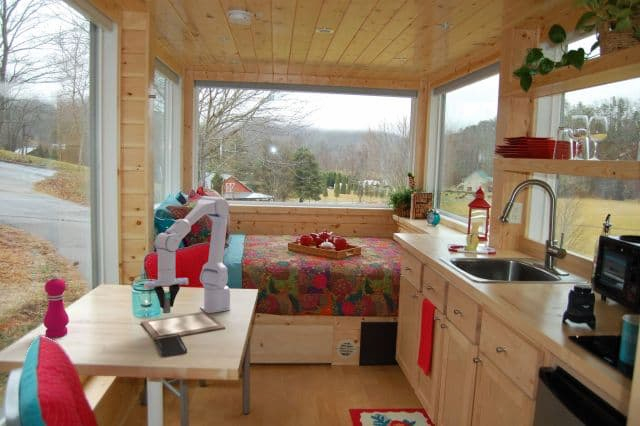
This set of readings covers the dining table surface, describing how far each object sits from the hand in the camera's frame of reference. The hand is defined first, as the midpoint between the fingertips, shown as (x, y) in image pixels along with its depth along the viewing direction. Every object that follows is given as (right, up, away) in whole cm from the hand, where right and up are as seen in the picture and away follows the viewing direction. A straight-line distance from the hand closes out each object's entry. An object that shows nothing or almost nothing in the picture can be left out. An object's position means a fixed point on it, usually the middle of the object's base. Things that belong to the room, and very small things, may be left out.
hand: (166, 306), depth 168 cm
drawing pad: (+5, -7, +3) cm, 9 cm away
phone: (+6, -10, -15) cm, 19 cm away
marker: (0, -2, 0) cm, 2 cm away
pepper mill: (-33, -7, -9) cm, 35 cm away
